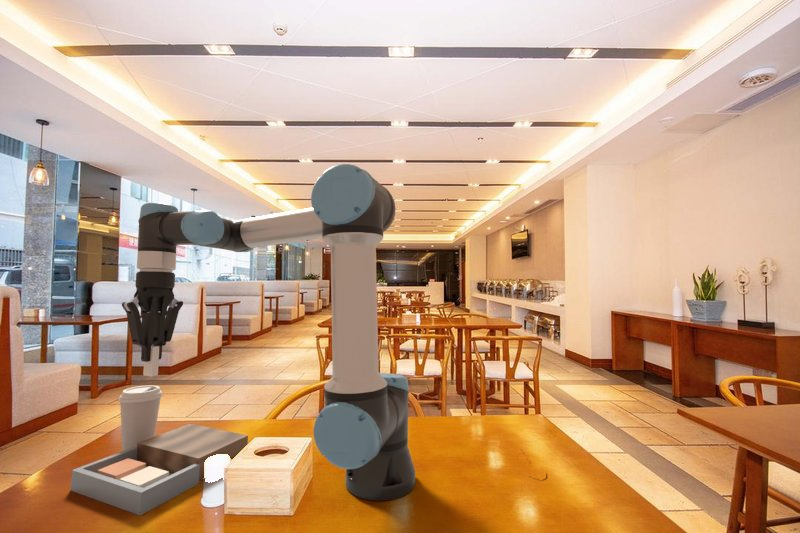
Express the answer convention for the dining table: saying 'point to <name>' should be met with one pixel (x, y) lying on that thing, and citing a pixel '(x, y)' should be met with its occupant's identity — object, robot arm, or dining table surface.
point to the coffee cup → (139, 414)
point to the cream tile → (145, 476)
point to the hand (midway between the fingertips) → (150, 375)
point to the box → (130, 485)
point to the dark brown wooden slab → (188, 447)
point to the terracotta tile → (122, 468)
